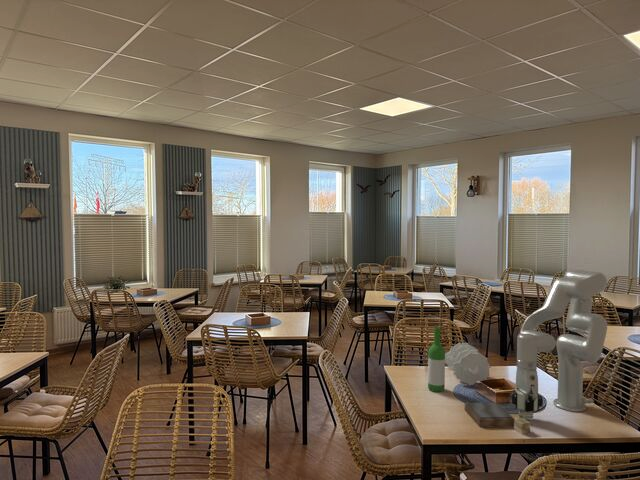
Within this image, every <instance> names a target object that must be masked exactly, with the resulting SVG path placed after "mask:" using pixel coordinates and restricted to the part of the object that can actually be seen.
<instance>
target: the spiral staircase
mask: <svg viewBox="0 0 640 480" xmlns="http://www.w3.org/2000/svg"><path fill="white" fill-rule="evenodd" d="M445 365H447V367H448V368H449V370H450V371H452V372H453V374H454V376H455V377H456V378H458V379H459V382H461V383H464V384H467V386H468V385H469V386H473V385H476V384H475V383H476V382H477V381H481V380H483V381H488V377H490V368H491V364H490V363H489V362H488V357H485V356H484V355H483V354H481V352H479V349H477V348H476V347H475V346H473V345H470V344H469V342H465V343H461V342H460V341H459V342H458V343H457V344H455V345H454V346H452V345H451V347H450V350H449V351H447V352H445Z"/></svg>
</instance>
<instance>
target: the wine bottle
mask: <svg viewBox="0 0 640 480" xmlns="http://www.w3.org/2000/svg"><path fill="white" fill-rule="evenodd" d="M445 353H446V350H445V348H444V347H443V345H442V344H441V327H439V326H436V327H434V328H433V344H431V346H429V348H428V356H427V357H428V360H427V362H428V363H427V365H428V366H427V388H428V390H430V391H432V392H434V393H441V392H443V391H445V382H446V381H445V379H446V378H445V377H446V374H445V373H446V363H445V361H446V360H445Z"/></svg>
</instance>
